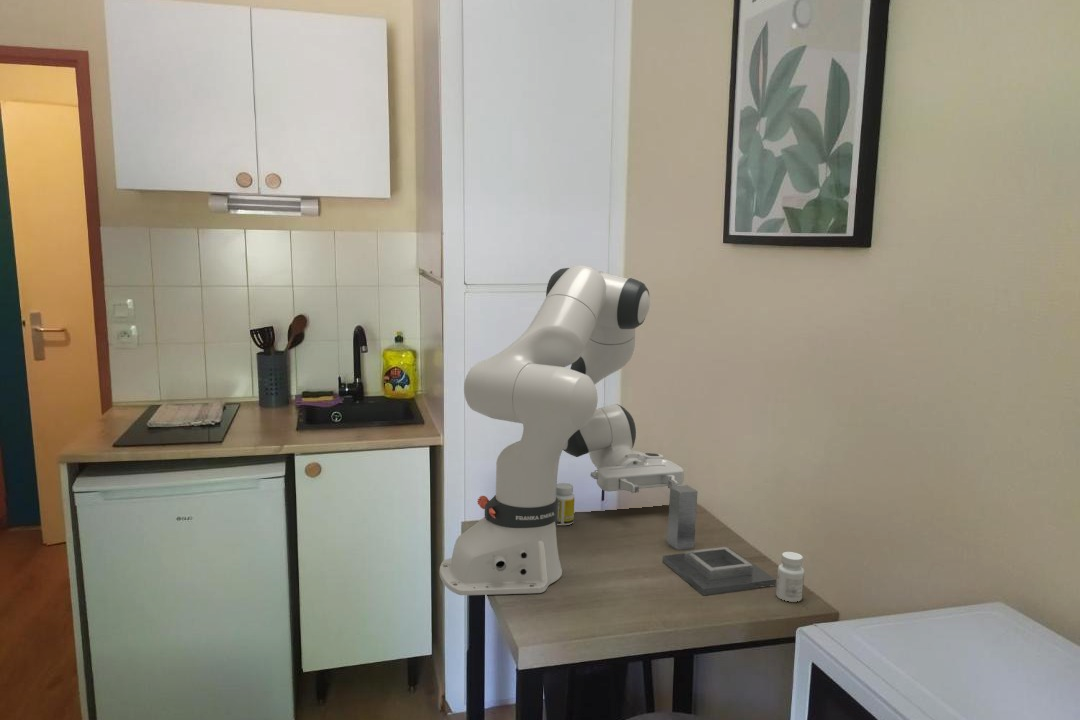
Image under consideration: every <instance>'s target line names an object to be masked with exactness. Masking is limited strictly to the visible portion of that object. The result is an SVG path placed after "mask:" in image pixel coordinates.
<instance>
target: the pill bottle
mask: <svg viewBox="0 0 1080 720" xmlns="http://www.w3.org/2000/svg"><path fill="white" fill-rule="evenodd" d="M803 557H804V556H803V555H802V554H800V553H797V552H793V551H785V552H782V554H781V560H780V561H781V564H779V565H778V568H777V575H776V576H777V577H776V586H775V587H776V589H775V596H776V597H777V598H778V599H780V600H781V599H782V600H781V601H784V600H785V602H787V601H789V603H797V601H798V602H800V601H801V600H802V598H803V592H804V581H805V569H804V568H803V567H802V566H803Z"/></svg>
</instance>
